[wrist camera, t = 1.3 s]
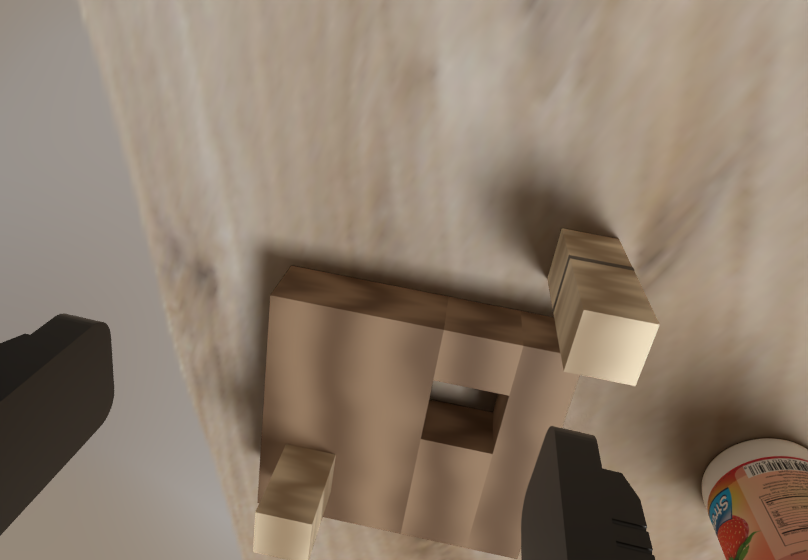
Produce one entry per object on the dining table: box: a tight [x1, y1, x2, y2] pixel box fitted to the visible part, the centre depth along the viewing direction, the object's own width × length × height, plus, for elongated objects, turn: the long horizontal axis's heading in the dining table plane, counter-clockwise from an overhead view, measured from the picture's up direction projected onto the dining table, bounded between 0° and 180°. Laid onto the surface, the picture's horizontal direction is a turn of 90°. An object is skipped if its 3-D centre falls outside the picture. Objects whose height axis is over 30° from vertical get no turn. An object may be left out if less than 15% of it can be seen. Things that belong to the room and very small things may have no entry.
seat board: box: [253, 266, 580, 560], centre depth 46 cm, size 22×20×12 cm
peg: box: [547, 228, 660, 386], centre depth 39 cm, size 4×4×12 cm
